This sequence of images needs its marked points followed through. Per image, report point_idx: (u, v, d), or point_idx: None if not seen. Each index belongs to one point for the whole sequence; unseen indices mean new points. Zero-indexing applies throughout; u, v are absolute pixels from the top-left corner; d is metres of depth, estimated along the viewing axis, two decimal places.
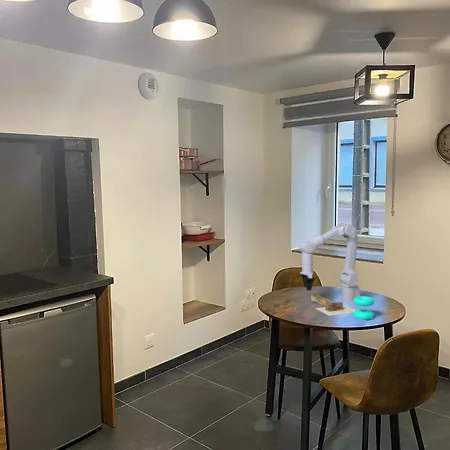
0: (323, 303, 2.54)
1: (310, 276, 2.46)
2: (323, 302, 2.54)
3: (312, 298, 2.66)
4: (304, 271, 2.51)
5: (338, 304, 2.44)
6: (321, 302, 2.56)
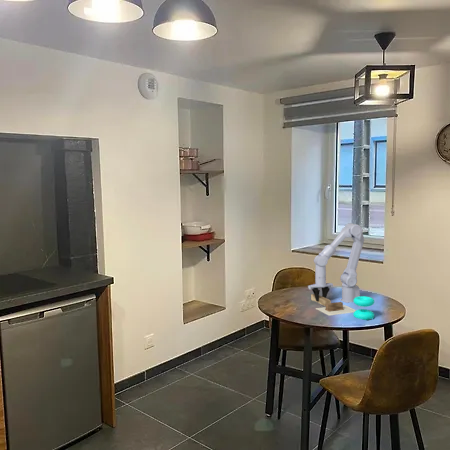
0: (323, 303, 2.54)
1: (309, 287, 2.57)
2: (323, 302, 2.54)
3: (312, 298, 2.66)
4: None
5: (338, 304, 2.44)
6: (321, 302, 2.56)
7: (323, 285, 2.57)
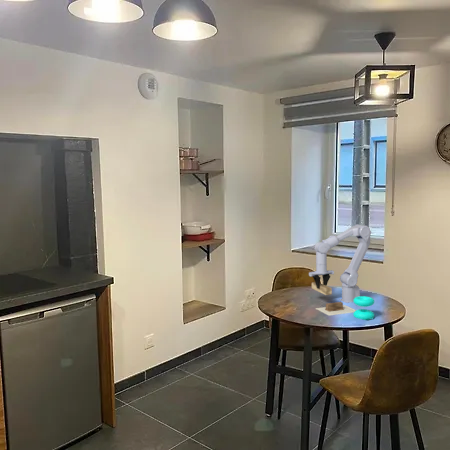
0: (324, 291, 2.52)
1: (309, 274, 2.55)
2: (324, 289, 2.52)
3: (313, 286, 2.64)
4: None
5: (338, 304, 2.44)
6: (322, 289, 2.54)
7: (324, 272, 2.55)
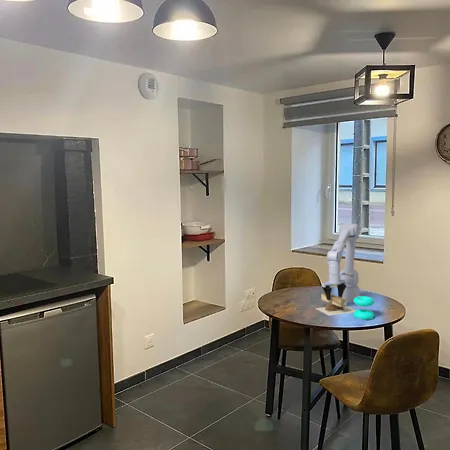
0: (338, 302, 2.38)
1: (323, 285, 2.40)
2: (338, 301, 2.38)
3: (323, 297, 2.50)
4: (328, 280, 2.44)
5: None
6: (335, 301, 2.40)
7: (338, 282, 2.41)
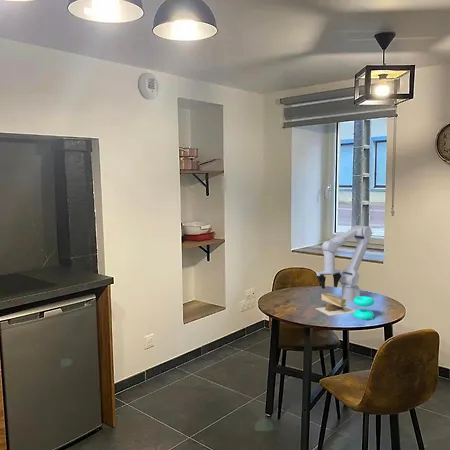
0: (338, 302, 2.38)
1: (317, 274, 2.51)
2: (338, 301, 2.38)
3: (323, 297, 2.50)
4: None
5: None
6: (335, 301, 2.40)
7: (332, 272, 2.51)
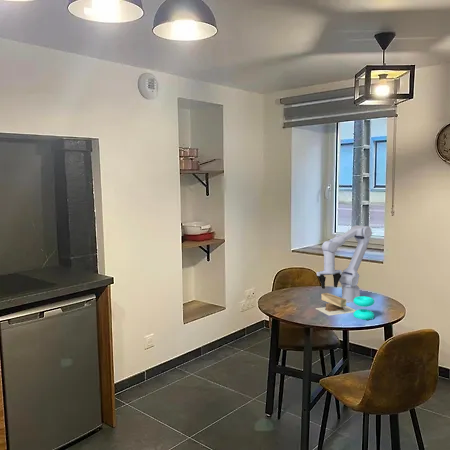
0: (338, 302, 2.38)
1: (317, 274, 2.51)
2: (338, 301, 2.38)
3: (323, 297, 2.50)
4: None
5: None
6: (335, 301, 2.40)
7: (332, 272, 2.51)
